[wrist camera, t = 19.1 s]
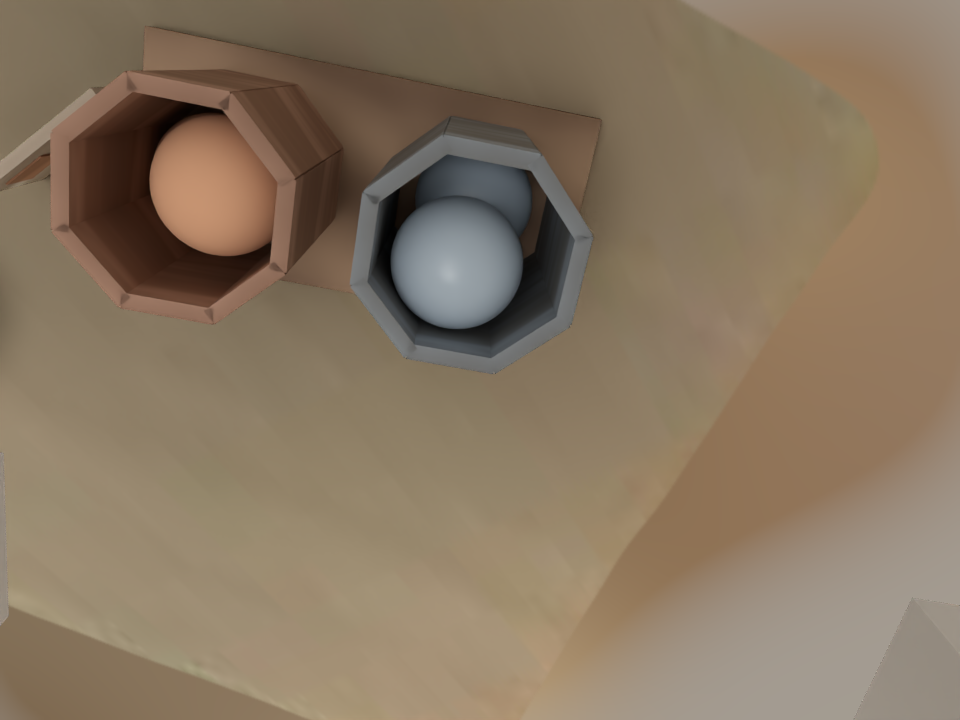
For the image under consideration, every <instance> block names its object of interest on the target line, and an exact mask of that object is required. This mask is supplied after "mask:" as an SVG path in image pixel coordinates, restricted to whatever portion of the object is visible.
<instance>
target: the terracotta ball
mask: <svg viewBox="0 0 960 720" xmlns="http://www.w3.org/2000/svg"><path fill="white" fill-rule="evenodd" d="M149 181H150V192H151V197H152V201H153V204H154V206H155V209H156V211H157V213H158V215H159V217H160V219H161V220H162V222H163V223H164V225H165V226H166V227H167V228H168V229H169V230H170V231H171V232H172V234H174V235H175V236H176V237H177V238H178V239H179V240H181V241H182V242H184V243H185V244H187V245H188V246H190V247H192V248H194V249H196V250H199V251H201V252H204V253H208V254H212V255H218V256H237V255H242V254H247V253H250V252H253V251H255V250H258V249H260V248H261V247H263V246H265V245H266V244H268V243H269V242H270V241H272V237H273V226H274V216H275V206H276V196H277V186H278V182H277V181H276V180H275V178H274V177H273V176H272V174H271V173H270V172H269V170H268V169H267V168H266V166H265V165H264V164H263V163H262V161H261V160H260V159H259V157H258V156H257V155H256V153H255V152H254V151H253V149H252V148H251V147H250V145H249V144H248V143H247V141H246V140H245V139H244V138H243V136H242V135H241V134H240V132H239V131H238V130H237V128H236V127H235V126H234V124H233V123H232V122H231V120H230V119H229V118H228V116H227V115H207V116H201V117H197V118H194V119H192V120H189V121H186V122H185V123H183V124H181V125H179V126H178V127H176V128H175V129H174V130H173V131H171V132H170V133H169V134H168V135H167V136H166V138H165V139H164V140H163V141H162V142H161V144H160V145H159V147H158V149H157V151H156V153H155V155H154V158H153V161H152V164H151V169H150V178H149Z"/></svg>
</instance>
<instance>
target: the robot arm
mask: <svg viewBox="0 0 960 720" xmlns="http://www.w3.org/2000/svg"><path fill="white" fill-rule="evenodd" d="M8 615H9V613H8V580H7V548H6V516H5V484H4V453H1V452H0V626H1V624H2V623H3V622H4V621H5V620H6V618H7V617H8ZM854 720H960V605H954V604H948V603H942V602H935V601H929V600H923V599H916V598H912V600H911V602H910V604H909V606H908V608H907V610H906V612H905V614H904V616H903V618H902V620H901V622H900V625H899V627H898V629H897V631H896V633H895V635H894V637H893V639H892V641H891V643H890V645H889V647H888V649H887V652H886V654H885V656H884V658H883V660H882V662H881V664H880V666H879V668H878V670H877V672H876V674H875V676H874V678H873V680H872V683H871V685H870V687H869V689H868V691H867V693H866V695H865V697H864V699H863V701H862V703H861V705H860V708H859V710H858V712H857V714H856V716H855V718H854Z"/></svg>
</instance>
